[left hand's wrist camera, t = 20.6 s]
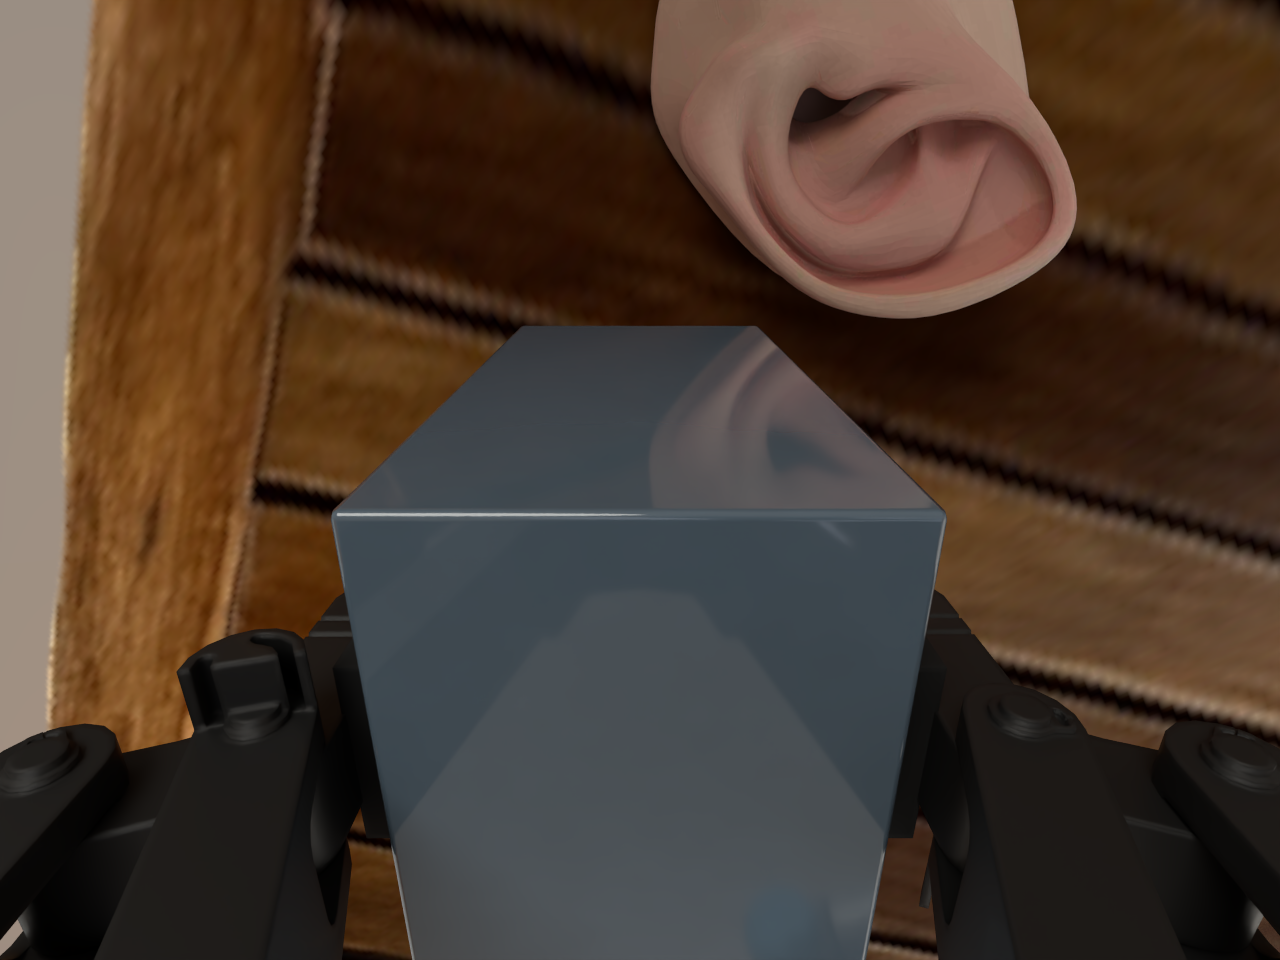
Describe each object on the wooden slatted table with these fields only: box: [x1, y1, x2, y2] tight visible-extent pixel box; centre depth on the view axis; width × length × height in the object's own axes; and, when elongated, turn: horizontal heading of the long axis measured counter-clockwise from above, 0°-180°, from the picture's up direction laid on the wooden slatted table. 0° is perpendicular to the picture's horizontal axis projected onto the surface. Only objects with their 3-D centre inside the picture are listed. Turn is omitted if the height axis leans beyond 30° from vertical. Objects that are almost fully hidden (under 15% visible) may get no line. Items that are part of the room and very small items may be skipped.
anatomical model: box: [651, 0, 1077, 318], centre depth 19 cm, size 13×4×12 cm
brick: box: [331, 326, 947, 960], centre depth 13 cm, size 6×8×11 cm
